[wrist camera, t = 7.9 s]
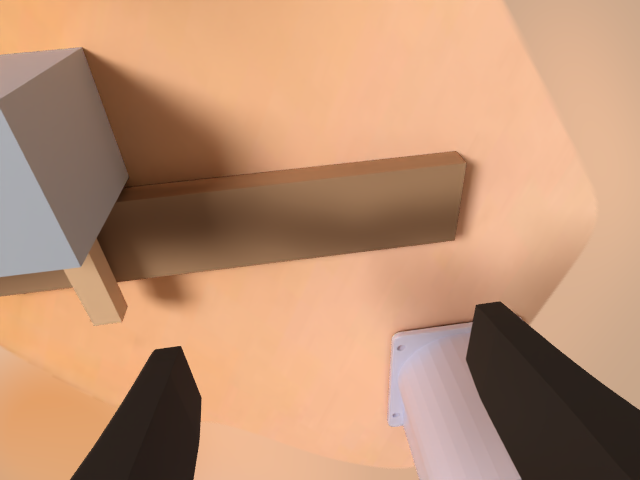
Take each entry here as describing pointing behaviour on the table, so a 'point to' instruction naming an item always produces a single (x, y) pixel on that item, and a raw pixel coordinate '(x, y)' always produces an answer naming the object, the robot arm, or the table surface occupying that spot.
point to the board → (273, 218)
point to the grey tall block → (58, 175)
